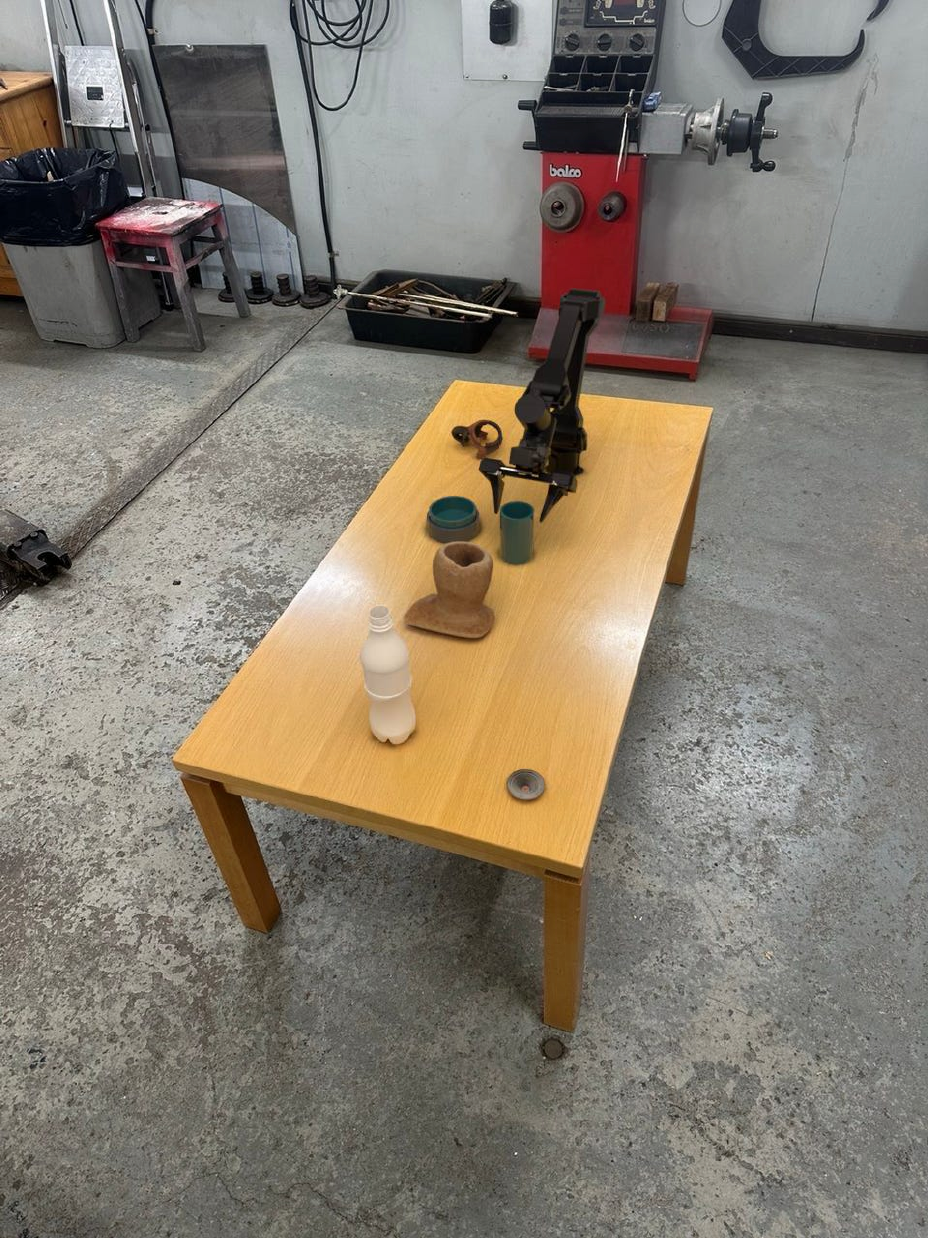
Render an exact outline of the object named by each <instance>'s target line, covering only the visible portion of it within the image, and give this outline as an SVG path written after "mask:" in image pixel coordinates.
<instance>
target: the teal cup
mask: <svg viewBox="0 0 928 1238" xmlns="http://www.w3.org/2000/svg"><path fill="white" fill-rule="evenodd" d="M534 529H535V508H534V507H533V505H531V504H530V503H528V502H525V501H523V500H514V501H508V502H506V503H504V504H503V505H502V506H500V508H499V557H500V559H501V560H502V561H504V562H505V563H507V564H510V565H523V564H526V563H528V562H530V561H531V560H532V558H533V556H534V539H535V538H534V533H535V530H534Z"/></svg>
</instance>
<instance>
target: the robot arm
mask: <svg viewBox="0 0 928 1238" xmlns="http://www.w3.org/2000/svg"><path fill="white" fill-rule="evenodd" d="M605 307H606V298H605V297H602V294H601V291H600V290H592V289H591V290H590V289H581V288H573V287H571V288H570V289H569V291H568V293H563V294H561V295H560V296H559V307H558V319H557V322H556V326H555V329H554V332H553V336H552V338H551V342H550V345H549V348H548V351H547V355H546V358H545V361H544V362H543V363H542V364H541V365H540V366H539V367H538V368H536V370H535V372H534V375H533V377H532V379H531V380H530V381H529V383H528V384H527V386H526V388H525V390H524V391H523V393H522V395H521V396H520V397H519V398H518V400H517V401H516V403H515V404H514V414H515V417H516V418H517V420H518V421H519V423H520V424H521V426H522V427H523V429H524V430H523V434H522V438H520V441H518V442H519V443H518V445H516V446H515V445H514V446H510V453H509V462H508V464H509V465H511V466H508V465H506V464H505V463H504V462H503V461H502V459H496V458H491V457H486V456H485V457H483V458H482V459H481V460H480V463H479V466H478V471H479V472H480V474H481V475H483V477H485V478H486V479H487V481H489V483H490V486H491V487H490V488H491V491H492V503H493V504H492V505H493V513H494V514H495V515H498V513H499V512H500V508H501V503H502V498H503V494H504V493H503V492H504V488H505V484H506V482H505V480H503V479H504V478H506V477H511V478H516V479H522V480H527V481H532V482H539V483H543V484H544V483H545V484H548V487H547V488H548V490H547V494H546V497H545V501H544V503H543V506H542V509H541V511H540V516H539V523H542V524H543V522H544V521H545V519H546V518H547V517H548V515H549V514H550V513H551V511H552V510H553V509H554V507H555V506H556V505H557V504H558V502H559V501H561V499H562V498H563V497H568V496H569V494H570V493H571V494H576V493H577V489H578V485H579V484H578V483H579V481H578V479H577V477H576V476H577V475H580V474H582V473H584V472H585V471H584V470H585V469H584V468H583V467H581V466H580V461H581V460H580V459H581V454H582V453H583V452H585V451H587V449H588V433H587V431H586V430H585V427H584V420H585V419H584V416H583V414H582V411H581V409H580V407H579V406H580V397H581V392H582V386H583V385H582V384H583V379H584V373H585V366H586V361H587V353H588V346H589V342H590V341H589V340H590V336H591V335H592V333H593V332H594V331H595V329H596V328H597V327H598V326H599V324H600V321H601V317H602V316H603V315H604V311H605ZM551 409H552V410H551ZM512 466H513V467H512ZM514 466H515V467H514ZM546 471H547V472H546Z"/></svg>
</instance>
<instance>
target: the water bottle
mask: <svg viewBox="0 0 928 1238" xmlns="http://www.w3.org/2000/svg"><path fill="white" fill-rule="evenodd" d="M367 614H368V623H367V627H368V630H369V631H368V634H367V636H366V637H365V639H364V641H363V643H362V646H361V647H360V653H359V660H360V664H361V668H362V674H363V687H364V691H365V693H366V695H367V697H368V701H369V713H368V719H369V726H370V729H371V731H372V734H373V735H374V736H375V738H376V739H377V740H379V742H381V743H386V742H387V741H389V742H390V743H391V744H392V745H400V744H404V743H405V742H406V741H407V740H408V738H409V736H410V735H411V734H412V733H413V732H414V731H415V728H416V723H417V721H416V720H417V716H416V709H415V708H414V705H413V702H412V698H411V687H412V683H413V677H412V674H411V666H410V651H409V647H408V645H407V642H405V640H404V639H403V638H402V637H401V635H400V634H399V633H398V632H397V631H396V629H395V628H394V620H393V618H392V617H391V610H390V608H389V607H388V606H387V605H383V604H382V605H381V604H379V605H374V606H372V607H371V608H370V609H369V610H368V613H367Z"/></svg>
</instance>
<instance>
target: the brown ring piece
mask: <svg viewBox="0 0 928 1238" xmlns="http://www.w3.org/2000/svg"><path fill="white" fill-rule="evenodd" d="M487 425H489V426H491V427H492V428H493V429H495V430H496V432H497V438H496V439H494V441H492V442H485V443H484V445H482V444H481V443H482V441H481V440H485V441H486V440H487V438H488V436H489V432H487V431H484V430H482V429H483V427H485V426H487ZM450 434H451V436H452V438H453V439H454V440H455V441H456V442H458V443H460V445H461V446H462V448H465V446H466V445H468V443H469V442H471V444H472V445H473V446H474V447H475V448H476V449H477V453H476V454H475V457H476V458H478V459H481V460H482V459H484V458H485V457H486V456H490V455H491V454H493V453H495V452H496V451H498V450H499V449H500V446H502V443H503V440H504V439H503V433H502V428H501V427H500V425H499V424H498V423H496V422H495V421H493V420H490V419H480V420H477V421H475V422H473V423H471V424H470V425H468V426H465V425H456V426H454V427H453V428H452V430H451V432H450ZM480 439H481V440H480Z"/></svg>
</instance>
